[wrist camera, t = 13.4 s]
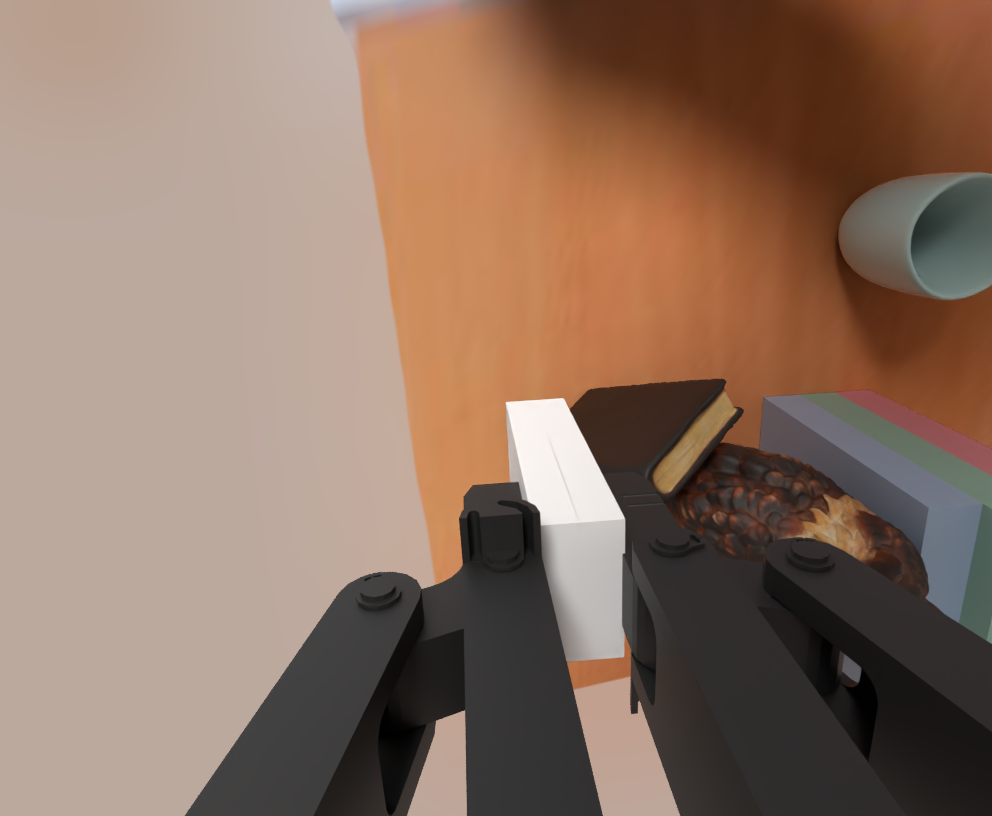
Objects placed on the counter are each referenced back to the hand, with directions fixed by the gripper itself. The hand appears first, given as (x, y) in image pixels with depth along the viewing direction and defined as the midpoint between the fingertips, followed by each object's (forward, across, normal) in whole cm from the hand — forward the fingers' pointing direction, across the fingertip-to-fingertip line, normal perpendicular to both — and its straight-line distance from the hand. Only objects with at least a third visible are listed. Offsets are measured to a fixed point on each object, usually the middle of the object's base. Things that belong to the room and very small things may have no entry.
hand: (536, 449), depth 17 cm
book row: (+34, +27, -19) cm, 48 cm away
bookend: (+33, +9, -17) cm, 38 cm away
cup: (+35, +30, +2) cm, 46 cm away
